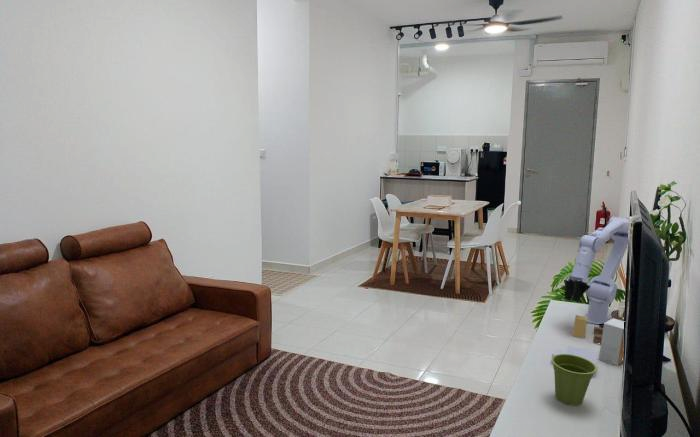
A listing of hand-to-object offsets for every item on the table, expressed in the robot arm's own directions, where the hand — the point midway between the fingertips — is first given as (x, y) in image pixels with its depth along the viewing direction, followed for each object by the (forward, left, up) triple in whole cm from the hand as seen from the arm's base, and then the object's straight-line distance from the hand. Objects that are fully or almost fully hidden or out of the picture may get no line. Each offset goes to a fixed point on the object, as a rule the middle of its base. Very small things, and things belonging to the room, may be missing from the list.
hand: (571, 300), depth 195 cm
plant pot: (+54, +3, -13) cm, 56 cm away
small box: (+17, +15, -13) cm, 27 cm away
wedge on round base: (+30, +3, -13) cm, 33 cm away
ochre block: (0, +4, -13) cm, 14 cm away
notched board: (0, +12, -13) cm, 18 cm away
